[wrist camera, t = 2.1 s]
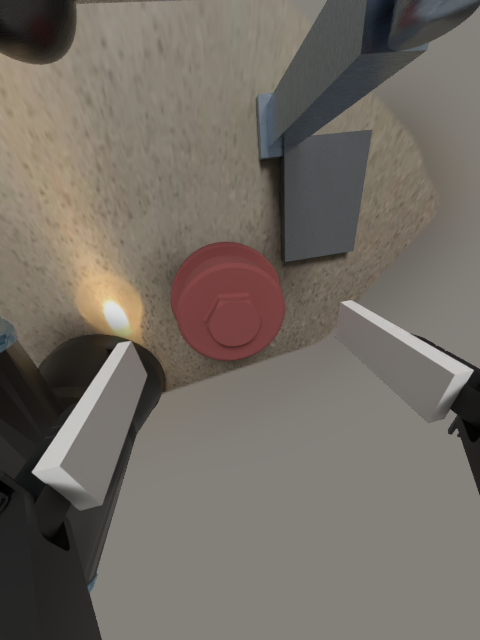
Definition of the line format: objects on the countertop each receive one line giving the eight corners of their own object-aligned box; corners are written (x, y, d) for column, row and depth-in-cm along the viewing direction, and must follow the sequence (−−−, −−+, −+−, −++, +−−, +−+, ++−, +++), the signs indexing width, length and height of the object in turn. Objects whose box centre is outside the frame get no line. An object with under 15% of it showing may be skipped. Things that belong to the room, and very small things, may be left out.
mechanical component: (261, 234, 23) (257, 311, 28) (174, 234, 22) (184, 315, 26) (312, 251, 13) (291, 370, 17) (147, 253, 11) (173, 384, 16)
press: (264, 262, 25) (321, 305, 13) (256, 99, 18) (361, -128, 6) (347, 249, 26) (467, 277, 14) (369, 89, 19) (646, -119, 7)
